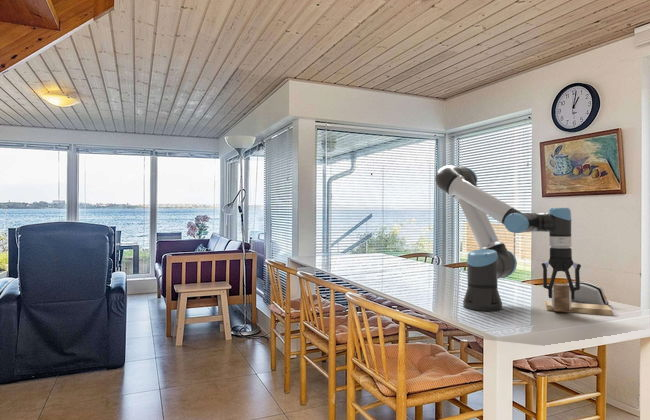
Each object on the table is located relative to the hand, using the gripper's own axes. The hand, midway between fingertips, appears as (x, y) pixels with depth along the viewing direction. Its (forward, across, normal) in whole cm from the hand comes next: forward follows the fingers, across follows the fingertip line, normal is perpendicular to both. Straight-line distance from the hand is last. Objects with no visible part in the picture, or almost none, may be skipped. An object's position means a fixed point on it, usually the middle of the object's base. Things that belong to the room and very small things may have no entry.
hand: (561, 307), depth 166 cm
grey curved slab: (+3, +11, +26) cm, 28 cm away
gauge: (+1, 0, +5) cm, 6 cm away
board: (+2, +6, +7) cm, 10 cm away
